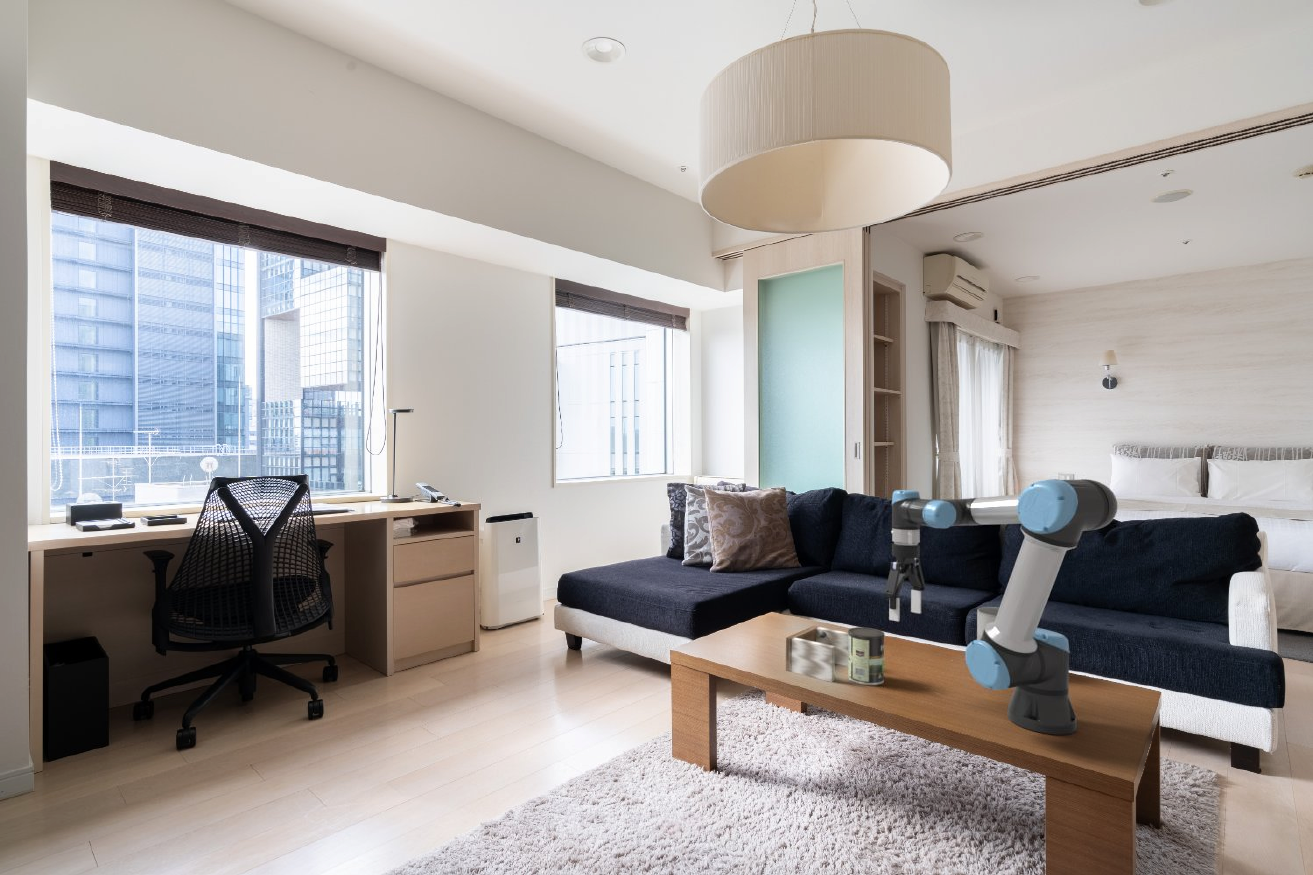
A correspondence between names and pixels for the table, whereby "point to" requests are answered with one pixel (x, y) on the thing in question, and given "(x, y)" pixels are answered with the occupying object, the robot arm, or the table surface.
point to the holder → (817, 652)
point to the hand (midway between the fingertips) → (905, 616)
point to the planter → (985, 618)
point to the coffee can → (866, 656)
